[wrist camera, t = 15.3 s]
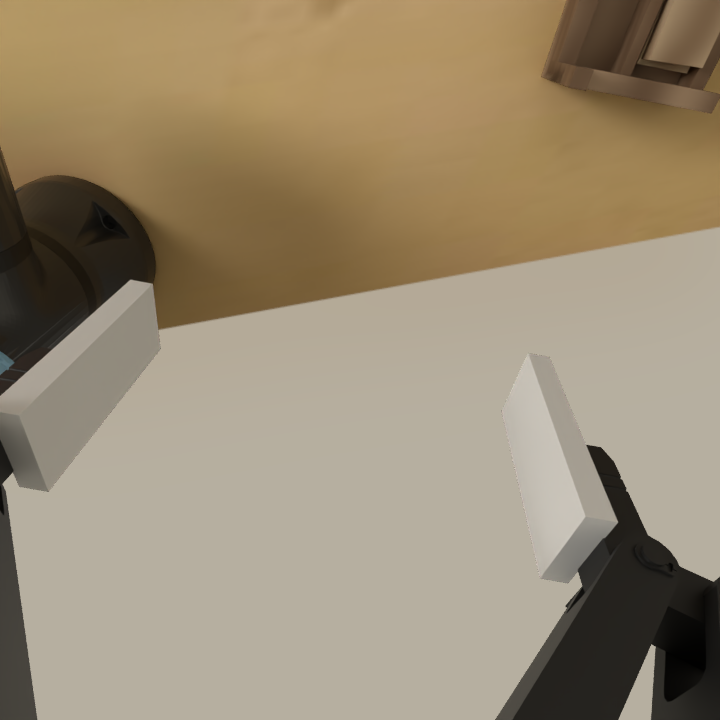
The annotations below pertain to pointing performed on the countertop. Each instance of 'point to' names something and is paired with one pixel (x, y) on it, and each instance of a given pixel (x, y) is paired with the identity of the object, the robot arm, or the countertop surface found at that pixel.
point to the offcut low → (656, 63)
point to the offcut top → (684, 32)
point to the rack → (622, 55)
